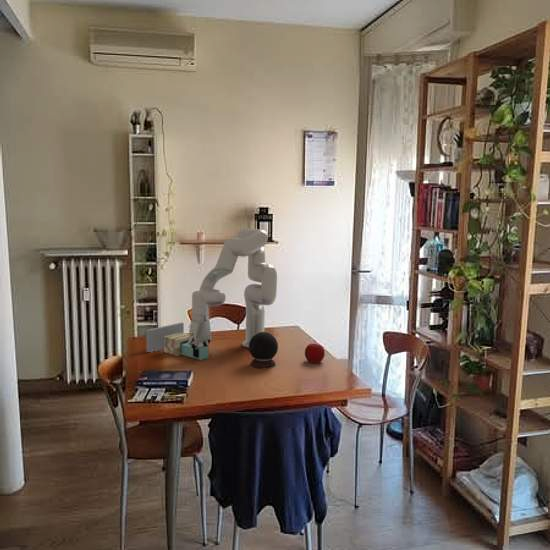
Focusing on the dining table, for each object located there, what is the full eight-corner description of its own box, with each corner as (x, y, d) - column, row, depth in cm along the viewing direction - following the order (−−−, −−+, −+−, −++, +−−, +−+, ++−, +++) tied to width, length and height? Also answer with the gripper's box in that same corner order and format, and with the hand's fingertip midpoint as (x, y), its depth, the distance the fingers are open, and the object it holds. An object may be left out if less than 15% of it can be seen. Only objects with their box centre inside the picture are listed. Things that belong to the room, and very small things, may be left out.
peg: (208, 357, 249) (208, 347, 248) (201, 360, 245) (200, 349, 244) (188, 352, 257) (188, 341, 257) (180, 354, 253) (180, 344, 253)
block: (194, 351, 259) (194, 335, 258) (176, 355, 251) (176, 339, 249) (181, 347, 265) (181, 332, 264) (164, 352, 256) (164, 336, 255)
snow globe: (258, 358, 249) (259, 327, 247) (282, 363, 243) (283, 331, 241) (242, 365, 238) (243, 333, 236) (267, 371, 231) (268, 337, 229)
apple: (301, 363, 244) (301, 341, 243) (309, 358, 252) (309, 337, 251) (319, 366, 240) (320, 344, 238) (327, 361, 248) (327, 340, 246)
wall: (183, 344, 272) (183, 323, 270) (148, 353, 255) (148, 330, 253) (181, 343, 273) (181, 322, 271) (146, 352, 256) (146, 330, 254)
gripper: (207, 313, 255) (207, 350, 257) (180, 319, 242) (181, 358, 244) (219, 315, 250) (218, 353, 253) (192, 322, 237) (192, 361, 239)
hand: (200, 355), depth 248 cm, fingers closed on peg, 5 cm apart
